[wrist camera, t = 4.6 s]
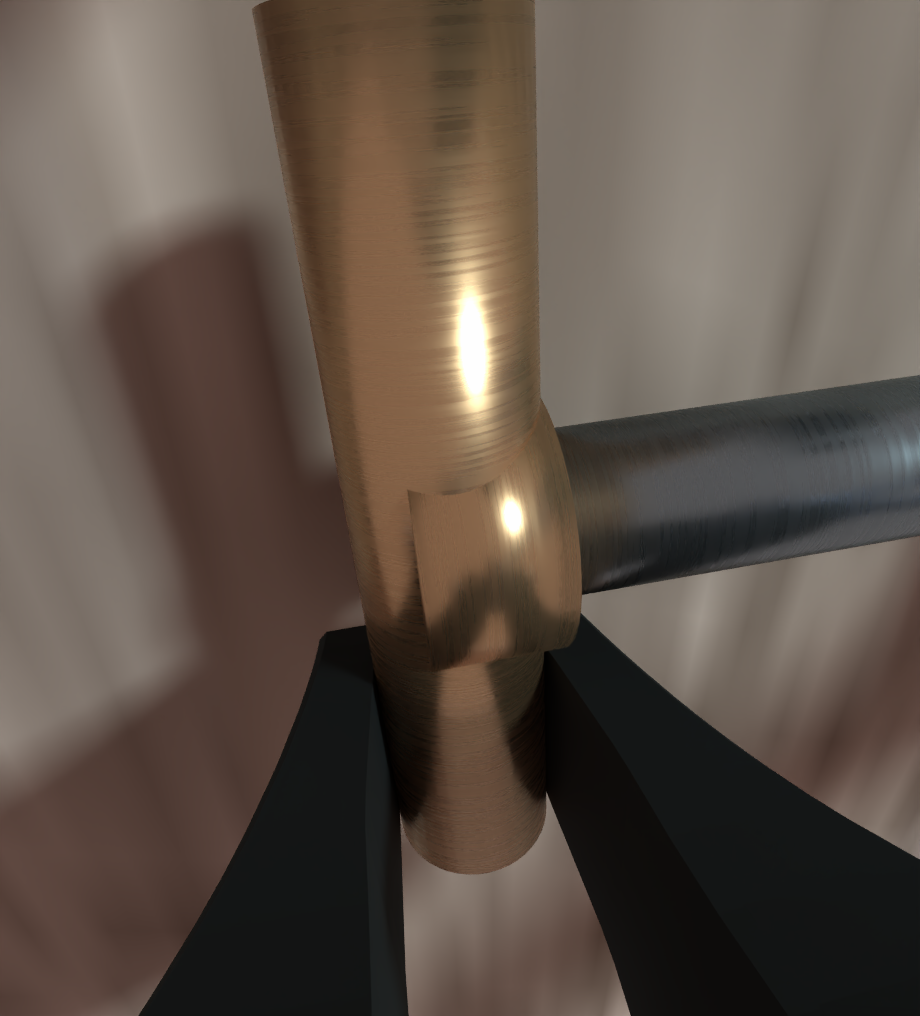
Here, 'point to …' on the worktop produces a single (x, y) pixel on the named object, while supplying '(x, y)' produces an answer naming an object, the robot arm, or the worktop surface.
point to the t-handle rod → (507, 409)
